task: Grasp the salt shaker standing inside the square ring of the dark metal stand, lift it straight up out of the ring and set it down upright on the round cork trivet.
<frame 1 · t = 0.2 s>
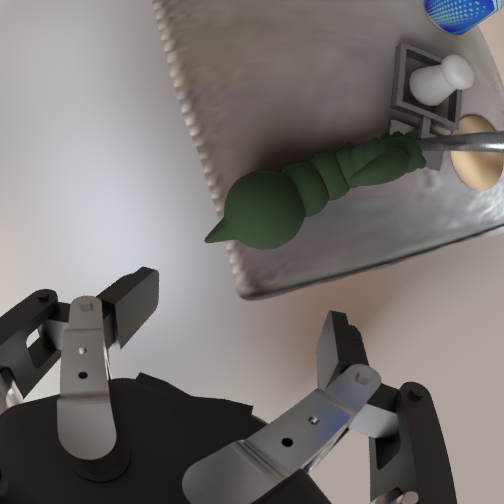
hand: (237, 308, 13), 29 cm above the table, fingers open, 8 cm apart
salt shaker: (420, 90, 30), on the table
trivet: (477, 153, 31), on the table
beer can: (442, 17, 24), on the table
toy figurine: (302, 186, 38), on the table
ring stand: (421, 90, 30), on the table
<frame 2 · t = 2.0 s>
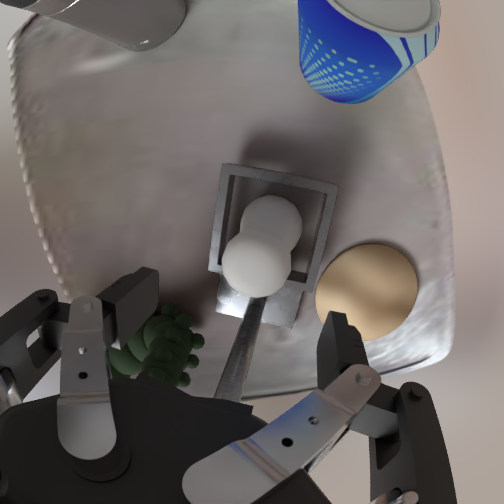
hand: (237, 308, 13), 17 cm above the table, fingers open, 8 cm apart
salt shaker: (273, 220, 29), on the table
trivet: (367, 295, 30), on the table
beer can: (341, 68, 22), on the table
toy figurine: (142, 331, 37), on the table
ring stand: (273, 220, 29), on the table
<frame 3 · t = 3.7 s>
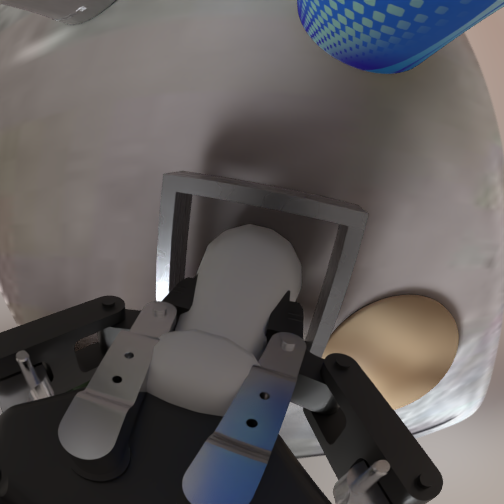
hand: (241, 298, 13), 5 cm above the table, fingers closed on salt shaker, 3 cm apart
salt shaker: (257, 259, 18), on the table, touching gripper
trivet: (391, 361, 19), on the table
beer can: (363, 24, 12), on the table
ring stand: (256, 260, 18), on the table
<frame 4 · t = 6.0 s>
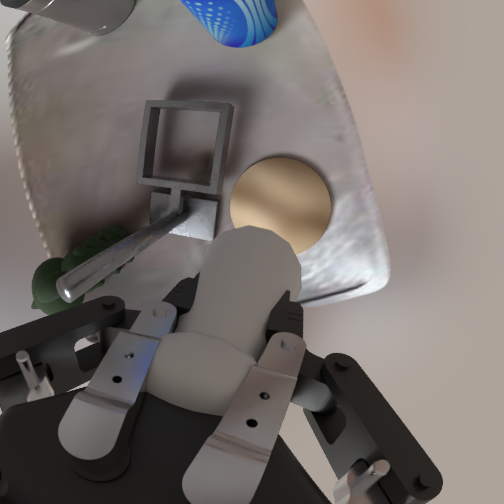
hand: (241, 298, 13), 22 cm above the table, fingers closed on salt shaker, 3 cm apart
salt shaker: (257, 260, 18), point 16 cm above the table, touching gripper
trivet: (280, 207, 34), on the table
beer can: (244, 24, 26), on the table
toy figurine: (98, 260, 41), on the table
ring stand: (191, 144, 33), on the table
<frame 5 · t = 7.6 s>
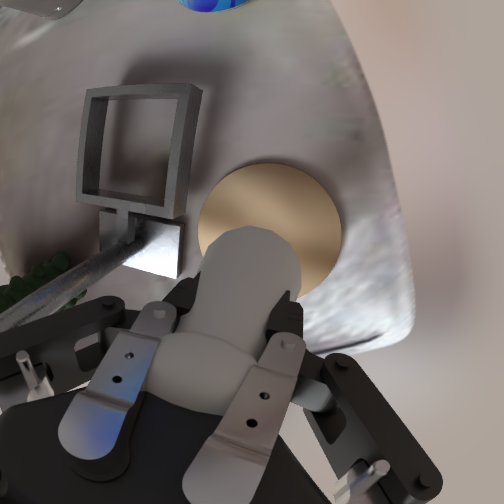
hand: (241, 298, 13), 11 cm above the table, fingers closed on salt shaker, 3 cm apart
salt shaker: (257, 260, 18), point 6 cm above the table, touching gripper
trivet: (268, 235, 24), on the table
toy figurine: (53, 288, 31), on the table
ring stand: (147, 146, 23), on the table
when the fingers open (7 cm above the table, at t = 8.5 s): salt shaker drops 1 cm, resting on trivet.
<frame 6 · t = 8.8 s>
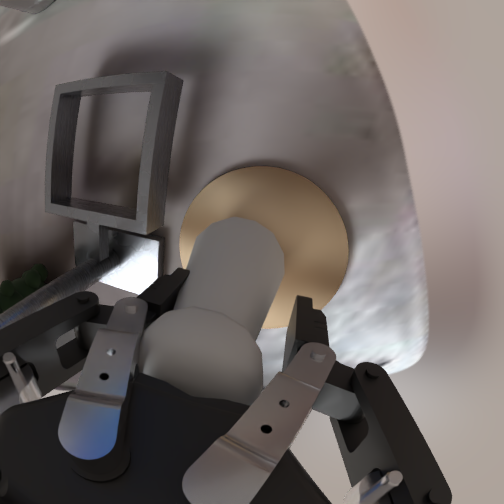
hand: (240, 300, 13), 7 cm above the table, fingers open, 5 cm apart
salt shaker: (242, 250, 20), point 1 cm above the table, touching gripper, trivet
trivet: (262, 252, 20), on the table
toy figurine: (34, 301, 27), on the table
ring stand: (123, 147, 19), on the table
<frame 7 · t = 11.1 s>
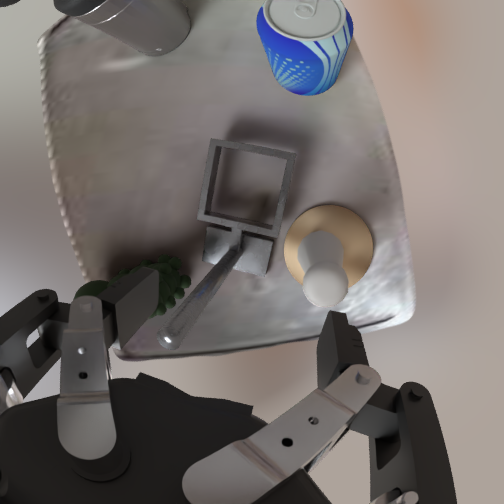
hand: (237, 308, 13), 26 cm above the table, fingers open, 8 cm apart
salt shaker: (319, 248, 37), resting on trivet
trivet: (328, 249, 37), on the table
beer can: (305, 70, 31), on the table
toy figurine: (140, 284, 44), on the table
ring stand: (250, 185, 36), on the table
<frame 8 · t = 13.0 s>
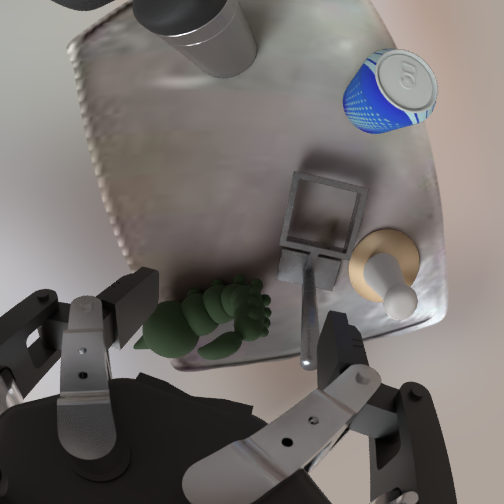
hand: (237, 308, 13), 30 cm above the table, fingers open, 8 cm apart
salt shaker: (377, 265, 41), resting on trivet
trivet: (384, 266, 41), on the table
beer can: (369, 107, 34), on the table
toy figurine: (208, 301, 48), on the table
ring stand: (321, 211, 40), on the table
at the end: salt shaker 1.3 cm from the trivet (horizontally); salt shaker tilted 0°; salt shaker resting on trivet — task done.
